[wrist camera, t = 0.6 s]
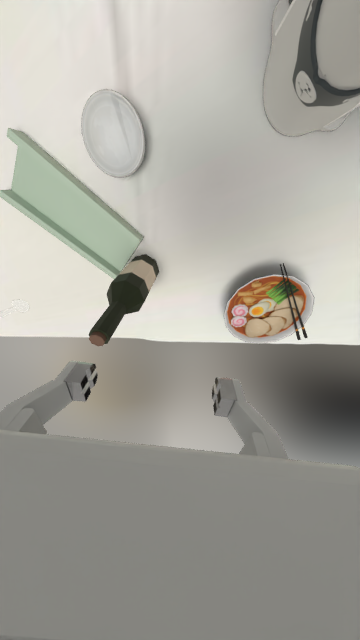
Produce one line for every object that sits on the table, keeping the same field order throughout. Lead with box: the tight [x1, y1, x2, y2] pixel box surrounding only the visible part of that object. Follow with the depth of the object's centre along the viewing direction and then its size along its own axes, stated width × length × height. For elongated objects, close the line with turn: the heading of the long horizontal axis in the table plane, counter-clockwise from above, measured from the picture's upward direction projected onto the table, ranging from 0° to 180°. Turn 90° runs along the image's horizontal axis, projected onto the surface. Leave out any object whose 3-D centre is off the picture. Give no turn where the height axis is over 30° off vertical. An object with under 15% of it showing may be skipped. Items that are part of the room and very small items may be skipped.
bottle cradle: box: [0, 128, 144, 279], centre depth 43 cm, size 14×30×4 cm, turn 50°
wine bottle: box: [89, 255, 159, 346], centre depth 40 cm, size 8×8×30 cm
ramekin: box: [81, 89, 145, 178], centre depth 34 cm, size 11×11×5 cm
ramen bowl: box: [224, 263, 314, 344], centre depth 51 cm, size 25×23×8 cm
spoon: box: [0, 299, 29, 318], centre depth 67 cm, size 5×18×1 cm, turn 114°
